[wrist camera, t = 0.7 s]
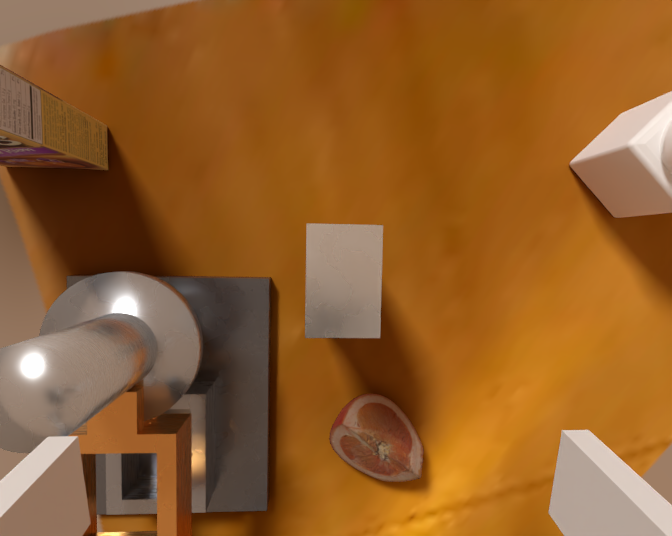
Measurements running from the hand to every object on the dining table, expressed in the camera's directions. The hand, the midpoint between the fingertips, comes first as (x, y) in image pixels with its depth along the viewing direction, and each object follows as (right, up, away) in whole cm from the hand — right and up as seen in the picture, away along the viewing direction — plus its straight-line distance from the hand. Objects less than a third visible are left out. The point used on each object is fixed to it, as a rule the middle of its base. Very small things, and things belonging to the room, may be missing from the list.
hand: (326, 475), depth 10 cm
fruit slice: (+4, -9, +26) cm, 28 cm away
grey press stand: (-14, -5, +24) cm, 29 cm away
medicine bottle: (+27, +15, +26) cm, 40 cm away
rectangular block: (0, +6, +24) cm, 25 cm away
